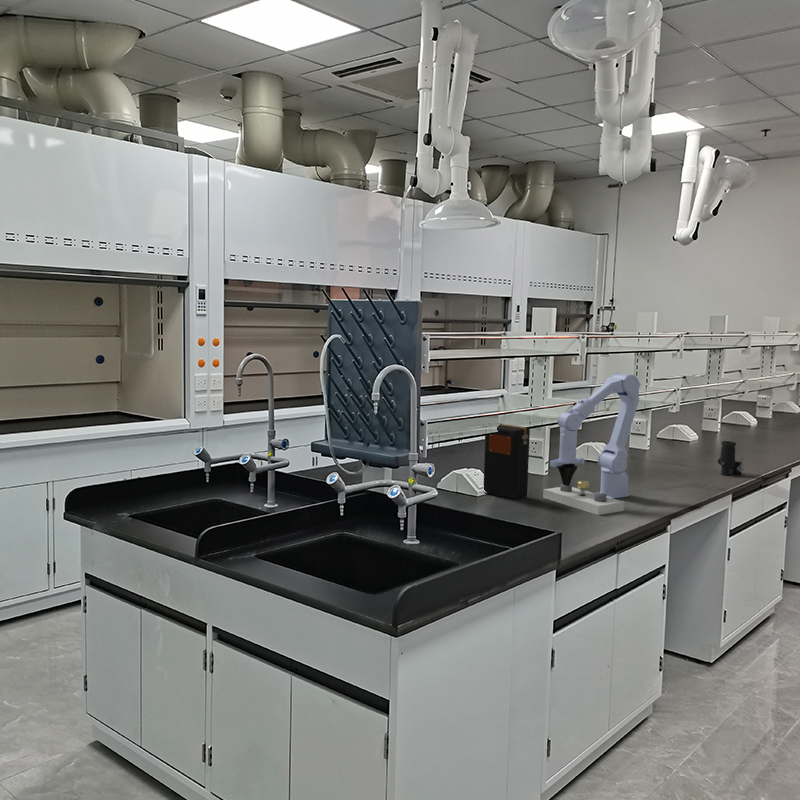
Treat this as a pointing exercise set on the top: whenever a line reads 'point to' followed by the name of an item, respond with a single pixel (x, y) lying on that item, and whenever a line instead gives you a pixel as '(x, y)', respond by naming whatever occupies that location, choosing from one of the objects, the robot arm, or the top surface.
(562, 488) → the knob
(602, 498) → the knob
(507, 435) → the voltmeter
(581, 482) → the pot knob
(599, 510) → the mount plate
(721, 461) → the scope
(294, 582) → the top surface
